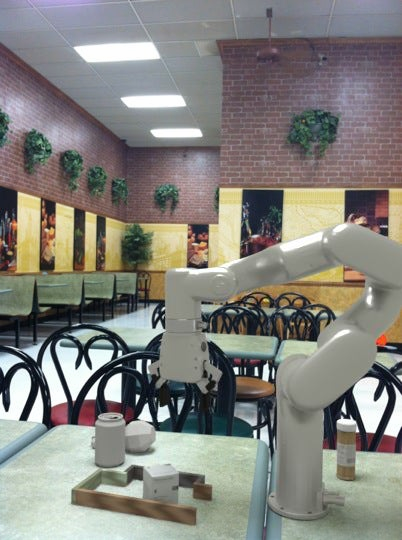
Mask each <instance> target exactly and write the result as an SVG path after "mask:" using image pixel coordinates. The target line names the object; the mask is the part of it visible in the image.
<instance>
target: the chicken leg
mask: <svg viewBox="0 0 402 540" xmlns="http://www.w3.org/2000/svg"><path fill="white" fill-rule="evenodd" d="M156 437H157V434H156V428H155V427H154V426H153V425H152V424H150V423H149V422H147V421H145V420H144V419H142V420H134V421H131V422H129V424H126V425H125V450H127V451H129V452H131V453H132V454H136V453H143V452H146V451H147V449H150V447H151V446H152V445H153V444H154V443H156V440H157V438H156ZM90 446H91V447H92V448H93V449H94V450H95V434H93V435H92V436H91V441H90Z"/></svg>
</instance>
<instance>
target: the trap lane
mask: <svg viewBox="0 0 402 540" xmlns="http://www.w3.org/2000/svg"><path fill="white" fill-rule="evenodd" d="M143 467H146V465H145V466H144V465H138V464H137V465H136V464H131V465H129V466H128V467H127V468H126V469H124V471H121V470H114V469H108V468H103V467H100V468H98V469H96V470H95V471H94V472H92V473H91V474H90V475H89V476H87V477H85V478H84V479H83V480H82V481H81V482H79V483H78V484H76V485H75V486H74V487H72V488H71V489H70V490H71V492H70V493H71V494H70V495H71V496H70V505H71V504H72V505H75V506H81V507H87V508H92V509H98V510H105V511H111V512H117V513H122V514H128V515H133V516H139V517H145V518H151V519H155V520H162V521H168V522H173V523H179V524H183V525H189V526H195V525H197V510H198V509H197V507H195V506H191V505H183V504H179V503H178V504H172V503H166V502H160V501H154V500H148V499H143V497H142V498H140V497H135V496H130V495H123V494H117V493H111V492H103V491H98V490H95V489H96V488H98V486H101V484H102V485H108V486H109V485H110V486H114V487H115V486H116V487H121V488H126V487H127V486H128V485H130V483H132V482H133V481H134V480H135V481H140V482H141V481H142V482H143ZM177 471H178V472H179V488H181V487H182V488H185V489H186V488H187V489H192V498H193V499H197V500H203V501H210V502H211V501H212V500H213V484H209V483H206V474H200V473H194V472H187V471H179V470H177Z"/></svg>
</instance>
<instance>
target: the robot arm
mask: <svg viewBox="0 0 402 540" xmlns="http://www.w3.org/2000/svg"><path fill="white" fill-rule="evenodd" d="M342 266H343V267H344V266H345V267H347V268H349V269H351V270H353V271H355V272H357V273H359V274H361V275H363V276H364V278H365V279H364V281H365V282H364V283H365V285H364V289H363V291H362V294H361V295H360V296H359V297H358V299H357V300H355V302H354V303H353V304H352V305H351V306H349V307H348V308H347V309H346V310H345V311H343V312H342V314H340V315H339V316H337V318H335V319H334V320H333V321H332V322H330V323H329V324H328V325H326V326H325V327H324V329H321V332H320V333H319V335H318V337H317V340H316V348H317V349H316V350H315V351H313V352H312V353H311V354H310V355H308V354H304V353H292V354H289V355H288V356H286V357H284V359H283V360H282V361H281V362H280V363H279V365H278V367H277V371H276V375H275V389H276V391H275V392H276V411H277V412H276V453H275V454H276V457H275V458H276V459H275V461H276V462H275V464H276V465H275V467H276V468H275V490H274V491H272V492H270V494H269V495H268V498H267V504H268V507H269V508H270V509H271V510H272V511H274V513H276V514H278V515H280V516H282V517H285V518H287V519H288V518H289V519H293V520H303V521H304V520H305V521H307V520H310V521H311V520H317V519H320V518H323V517H325V516H326V515H327V514H328V513H329V512H330V507H331V506H330V505H333V506H336V507H345V496H343V495H340V491H335V490H328V488H325V485H326V483H325V482H324V481H323V465H324V464H323V461H324V459H323V458H324V455H323V454H324V450H323V449H324V409H325V408H327V407H329V406H330V405H331V404H332V403H333V402H335V401H336V400H337V399H339V398H340V397H341V396H342V395H344V393H346V392H347V391H348V390H350V388H351V387H353V386H354V385H355V384H356V383H358V381H359V380H361V379H362V378H363V377H364V376H365V375H366V374H367V373H368V372H369V371H370V370H371V368H373V365H374V364H375V361H376V359H377V353H378V346H377V340H378V339H379V338H380V337H381V336H382V335H384V333H385V332H386V331H388V330H389V329H390V328H391V327H392V326H393V324H394V323H395V322H396V321H397V320H398V317H400V314H401V311H402V243H400V242H399V241H396V240H394V239H392V238H390V237H386V236H385V235H383V234H380V233H378V232H376V231H374V230H372V229H369V228H367V227H365V226H363V225H360V224H357V223H353V222H342V223H337V224H336V225H335V224H334V225H333V226H332V225H331V226H330V227H326V228H323V229H320V230H317V231H313V232H310V233H308V234H304V235H300V236H299V237H296V238H292V239H289V240H286V241H283V242H280V243H277V244H273V245H271V246H269V247H267V248H265V249H262V250H261V251H259V252H256V253H254V254H251V255H248V256H246V257H245V256H244V257H243V258H240V259H237V260H232V261H230V262H227V263H224V264H223V263H222V264H220V265H218V266H217V265H216V266H213V267H207V268H206V267H205V268H195V267H172V268H169V269H167V270H166V272H165V276H164V301H165V302H164V304H165V306H164V307H165V308H164V309H165V311H164V312H165V313H164V315H165V319H164V320H165V324H164V325H165V328H164V329H165V332H163V334H162V336H161V337H162V338H161V342H160V350H159V359H158V360H156V361H155V362H153V363H151V364H148V365H147V370H148V372H149V374H150V378H151V380H152V381H153V382H154V384H155V387H156V388H157V391H158V394H157V395H158V397H157V398H158V406H159V408H163V407H166V406H168V405H170V404H171V403H170V401H171V400H170V385H168V383H169V382H180V383H189V384H196V385H197V387H198V388H199V390H201V391H200V392H201V393H199V394H198V395H199V397H198V399H199V404H198V405H199V406H198V407H199V413H201V414H203V413H206V412H208V411H210V408H211V405H212V399H211V394H212V393H211V391H213V390H214V389H215V388H216V387H217V385H219V382H220V379H221V377H222V375H223V372H222V370H220V369H218V368H217V367H216V366H214V365H212V363H210V353H209V345H208V339H207V337H206V333H205V332H202V331H203V329H207V327H208V326H207V325H208V324H207V322H206V321H203V318H202V302H206V303H207V302H209V303H215V304H224V303H227V302H229V301H232V299H233V298H234V297H235V296H237V295H241V294H244V293H247V292H251V291H253V290H256V289H260V288H261V289H262V288H265V287H270V286H281V285H286V284H289V283H294V282H297V281H300V280H302V279H303V280H304V279H305V278H309V277H311V276H314V275H316V274H321V273H324V272H327V271H330V270H333V269H336V268H338V267H342ZM158 368H159V373H158ZM210 375H212V377H211V376H210ZM210 377H211V380H210V381H209V378H210Z"/></svg>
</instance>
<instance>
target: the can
mask: <svg viewBox="0 0 402 540" xmlns="http://www.w3.org/2000/svg"><path fill="white" fill-rule="evenodd" d="M125 427H126V420H125V419H124V415H123V414H122V413H118V412H106V413H101V414H99V415H98V416H97V420H96V421H95V423H94V435H95V449H94V462H95V463H96V464H97V465H98V466H99V467H101V468H114V467H117V466H120V465H121V464H122V463H123V462H124V461H125V460H126V459H125V458H126V449H125Z"/></svg>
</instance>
